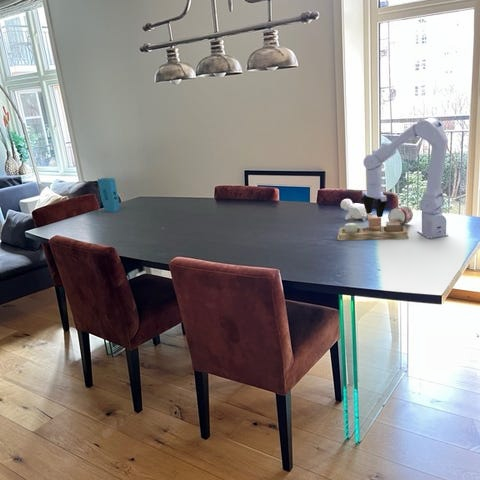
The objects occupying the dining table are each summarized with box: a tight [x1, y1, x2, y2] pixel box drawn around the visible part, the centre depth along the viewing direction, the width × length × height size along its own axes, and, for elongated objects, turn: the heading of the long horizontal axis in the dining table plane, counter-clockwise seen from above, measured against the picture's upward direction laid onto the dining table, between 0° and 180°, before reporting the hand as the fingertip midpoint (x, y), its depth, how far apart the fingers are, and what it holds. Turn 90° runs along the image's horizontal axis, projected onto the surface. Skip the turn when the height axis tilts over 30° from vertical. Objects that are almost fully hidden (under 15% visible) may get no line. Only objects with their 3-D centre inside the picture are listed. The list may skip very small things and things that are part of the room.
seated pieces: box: [344, 221, 401, 233], centre depth 189 cm, size 21×5×4 cm, turn 76°
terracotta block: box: [367, 214, 382, 227], centre depth 199 cm, size 5×5×5 cm
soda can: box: [387, 206, 414, 226], centre depth 195 cm, size 7×7×12 cm
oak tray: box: [337, 225, 409, 241], centre depth 190 cm, size 27×10×2 cm, turn 76°
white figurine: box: [340, 198, 374, 222], centre depth 216 cm, size 8×8×15 cm
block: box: [97, 177, 120, 213], centre depth 290 cm, size 12×5×20 cm, turn 51°
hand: (374, 214), depth 198 cm, fingers open, 7 cm apart
